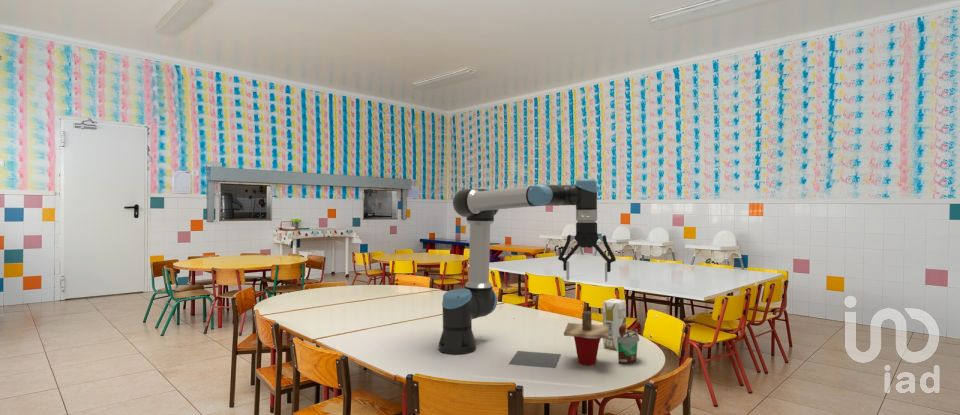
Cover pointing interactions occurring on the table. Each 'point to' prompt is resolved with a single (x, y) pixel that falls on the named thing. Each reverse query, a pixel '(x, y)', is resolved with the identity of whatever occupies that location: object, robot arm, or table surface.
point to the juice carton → (614, 321)
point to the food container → (627, 347)
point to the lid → (586, 328)
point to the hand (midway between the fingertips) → (586, 280)
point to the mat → (535, 359)
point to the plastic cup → (587, 350)
